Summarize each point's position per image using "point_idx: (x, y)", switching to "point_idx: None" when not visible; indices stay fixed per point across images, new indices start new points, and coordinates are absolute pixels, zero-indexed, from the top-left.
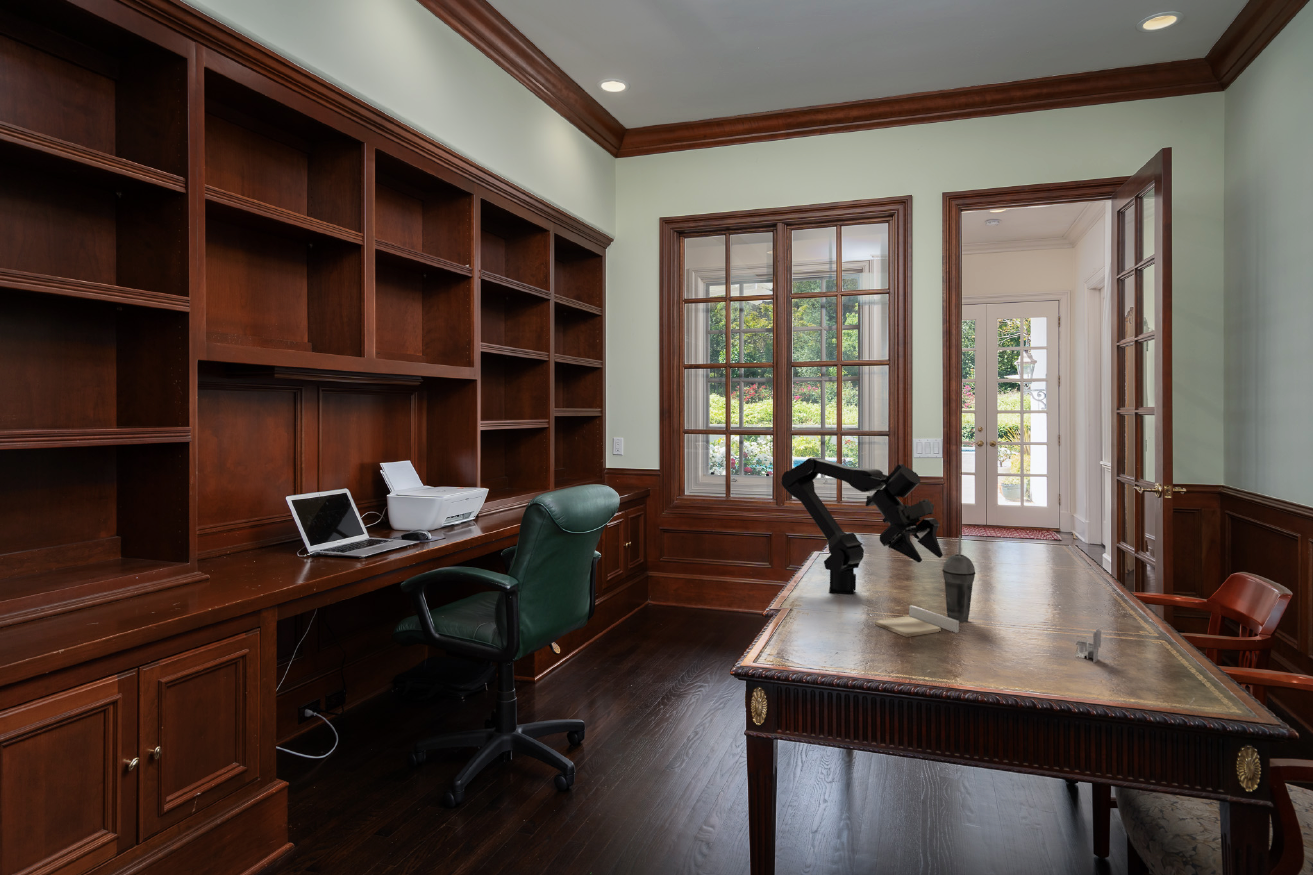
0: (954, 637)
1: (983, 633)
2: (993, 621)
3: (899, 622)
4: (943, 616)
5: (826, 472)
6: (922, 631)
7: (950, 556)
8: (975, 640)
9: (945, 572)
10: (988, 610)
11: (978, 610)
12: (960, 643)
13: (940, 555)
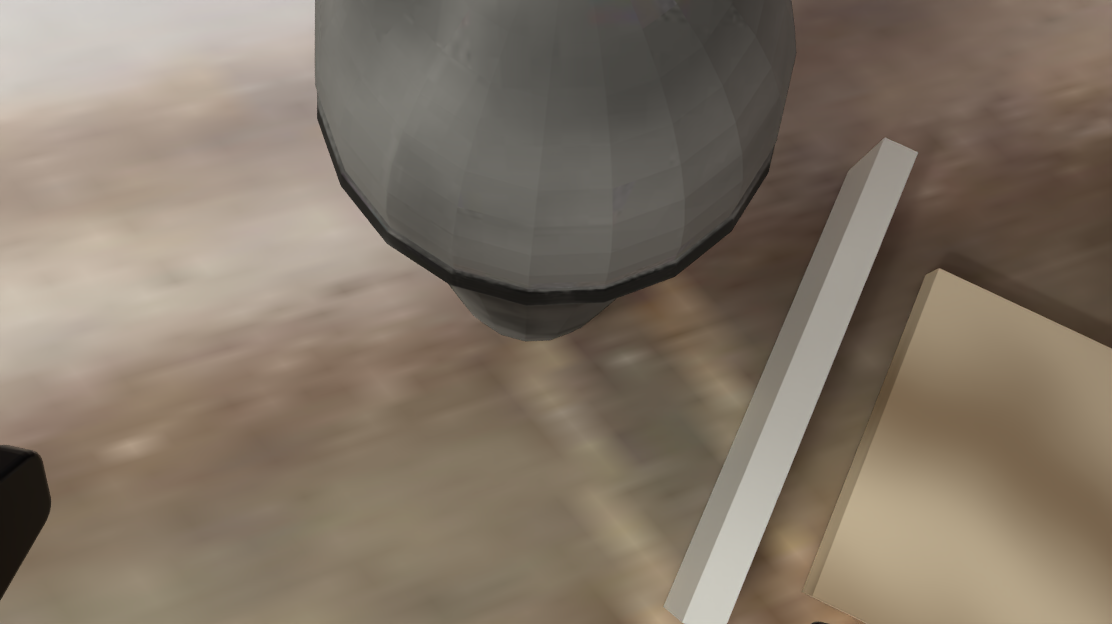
0: (987, 159)
1: None
2: None
3: (1045, 578)
4: (845, 271)
5: None
6: (1108, 351)
7: (618, 75)
8: (947, 37)
9: (740, 212)
10: (78, 150)
11: (129, 213)
12: (1082, 94)
13: (30, 488)
